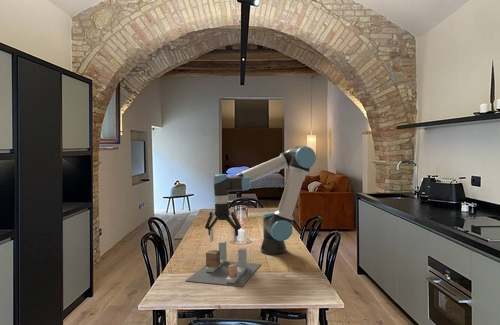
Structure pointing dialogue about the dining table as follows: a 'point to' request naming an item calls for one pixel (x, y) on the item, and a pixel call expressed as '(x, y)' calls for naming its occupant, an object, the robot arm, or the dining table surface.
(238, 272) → the broken strip
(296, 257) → the dining table surface
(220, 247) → the grey stepped bracket
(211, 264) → the block
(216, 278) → the mat
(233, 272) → the peach egg shape
